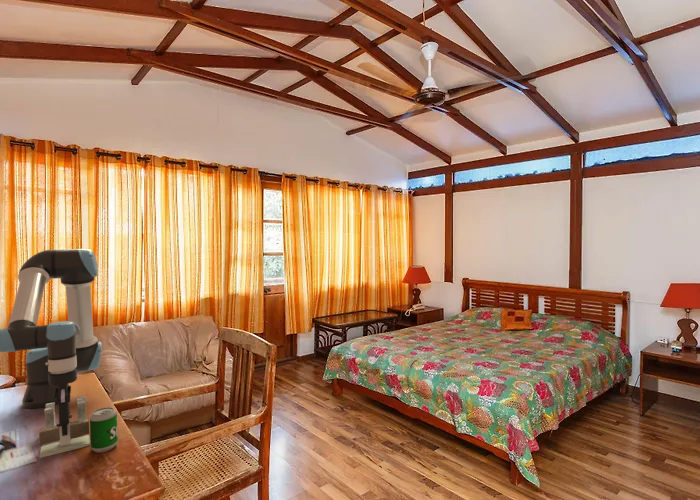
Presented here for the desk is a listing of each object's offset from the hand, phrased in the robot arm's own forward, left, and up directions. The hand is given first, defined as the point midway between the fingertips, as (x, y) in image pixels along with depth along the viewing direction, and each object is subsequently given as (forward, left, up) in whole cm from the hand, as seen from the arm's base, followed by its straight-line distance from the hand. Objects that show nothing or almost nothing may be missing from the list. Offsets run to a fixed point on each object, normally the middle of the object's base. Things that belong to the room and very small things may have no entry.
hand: (65, 441), depth 131 cm
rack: (-12, 0, -2) cm, 12 cm away
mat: (0, 0, -2) cm, 2 cm away
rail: (0, 0, +1) cm, 1 cm away
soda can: (+8, +10, -2) cm, 13 cm away
